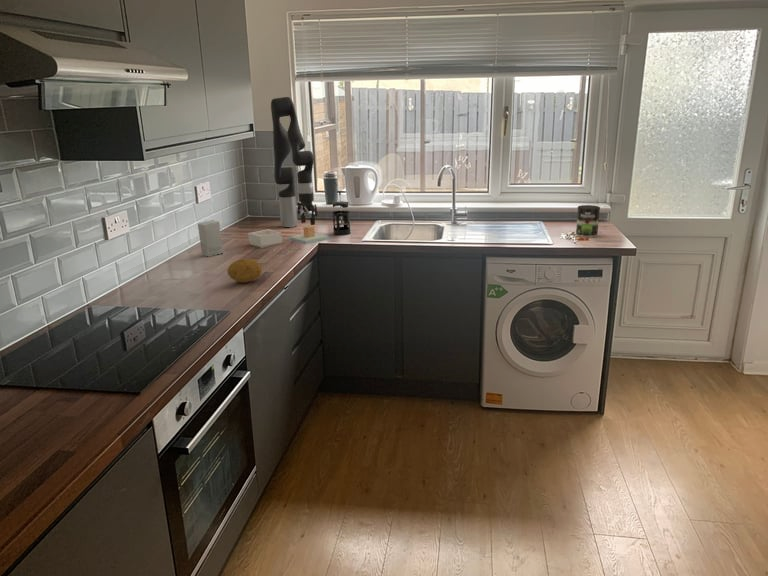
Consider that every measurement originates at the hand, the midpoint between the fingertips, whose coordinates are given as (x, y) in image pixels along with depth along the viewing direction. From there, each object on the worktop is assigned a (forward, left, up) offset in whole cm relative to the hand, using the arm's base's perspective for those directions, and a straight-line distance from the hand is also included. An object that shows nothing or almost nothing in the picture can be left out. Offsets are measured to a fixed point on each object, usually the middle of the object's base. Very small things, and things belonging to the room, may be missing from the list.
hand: (308, 223), depth 293 cm
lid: (0, 0, -8) cm, 8 cm away
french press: (+3, +19, -9) cm, 21 cm away
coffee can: (+99, +98, -9) cm, 140 cm away
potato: (+44, -60, -9) cm, 75 cm away
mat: (0, 0, -8) cm, 8 cm away
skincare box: (-9, -49, -9) cm, 50 cm away
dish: (-8, -21, -8) cm, 24 cm away
